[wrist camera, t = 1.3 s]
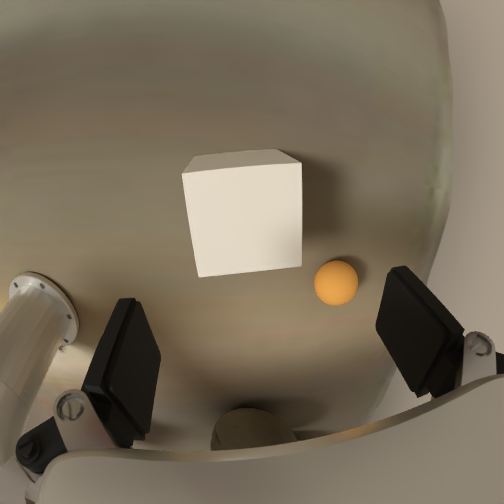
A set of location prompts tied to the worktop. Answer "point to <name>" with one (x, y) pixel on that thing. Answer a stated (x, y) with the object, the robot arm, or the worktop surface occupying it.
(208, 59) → the worktop surface
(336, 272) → the ball
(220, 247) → the white sugar cube
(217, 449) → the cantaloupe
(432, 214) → the worktop surface
